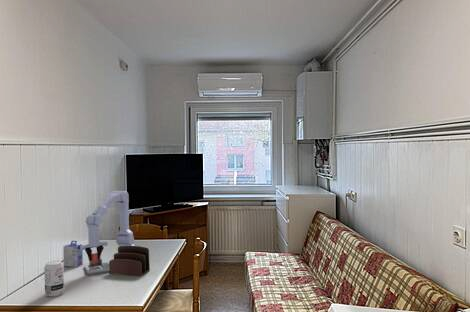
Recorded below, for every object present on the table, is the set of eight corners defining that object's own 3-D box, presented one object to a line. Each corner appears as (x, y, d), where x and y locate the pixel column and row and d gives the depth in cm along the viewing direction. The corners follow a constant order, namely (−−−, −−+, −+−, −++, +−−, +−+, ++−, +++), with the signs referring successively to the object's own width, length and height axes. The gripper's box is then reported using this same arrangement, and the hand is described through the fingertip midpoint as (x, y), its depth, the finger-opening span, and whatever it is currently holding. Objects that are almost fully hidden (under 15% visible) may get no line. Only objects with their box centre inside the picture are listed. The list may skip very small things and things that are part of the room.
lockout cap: (96, 261, 222) (96, 252, 222) (99, 263, 219) (98, 254, 219) (89, 262, 220) (89, 253, 220) (91, 264, 217) (91, 255, 216)
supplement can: (49, 291, 190) (48, 261, 190) (66, 290, 191) (65, 260, 191) (42, 297, 182) (41, 265, 182) (60, 297, 183) (59, 265, 183)
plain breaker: (100, 263, 233) (100, 258, 233) (101, 264, 229) (101, 259, 229) (95, 263, 231) (95, 258, 231) (96, 265, 228) (96, 260, 228)
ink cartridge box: (83, 264, 236) (82, 240, 236) (78, 267, 231) (77, 242, 230) (68, 263, 238) (68, 240, 238) (63, 266, 233) (62, 242, 232)
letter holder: (118, 268, 226) (118, 244, 226) (150, 271, 221) (149, 246, 221) (109, 274, 217) (108, 248, 216) (141, 276, 211) (140, 250, 211)
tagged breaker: (94, 265, 227) (94, 260, 227) (96, 267, 224) (95, 262, 224) (89, 266, 226) (89, 261, 226) (90, 268, 222) (90, 262, 222)
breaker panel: (106, 264, 235) (106, 260, 235) (113, 271, 220) (113, 267, 220) (84, 267, 229) (83, 263, 229) (88, 275, 214) (88, 271, 214)
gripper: (104, 233, 227) (104, 256, 227) (78, 236, 217) (78, 261, 218) (108, 235, 221) (109, 259, 221) (82, 239, 212) (83, 263, 212)
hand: (94, 260), depth 219 cm, fingers closed on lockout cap, 4 cm apart
